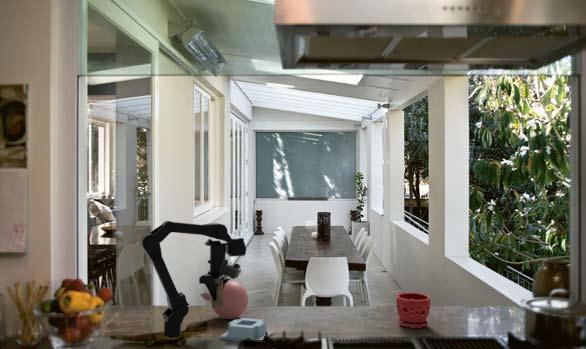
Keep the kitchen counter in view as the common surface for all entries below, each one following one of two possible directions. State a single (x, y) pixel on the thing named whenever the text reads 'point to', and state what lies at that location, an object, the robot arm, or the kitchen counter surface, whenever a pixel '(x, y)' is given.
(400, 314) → the plant pot
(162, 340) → the kitchen counter surface
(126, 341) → the kitchen counter surface
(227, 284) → the balloon
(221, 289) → the walnut peg
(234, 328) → the socket block
